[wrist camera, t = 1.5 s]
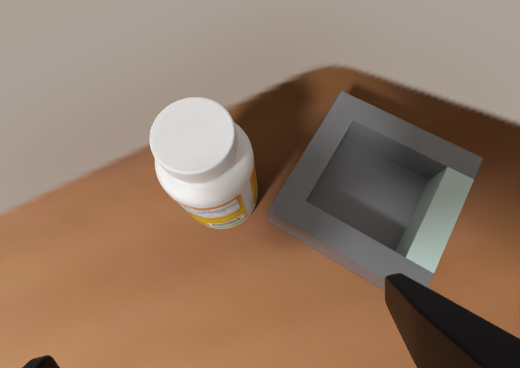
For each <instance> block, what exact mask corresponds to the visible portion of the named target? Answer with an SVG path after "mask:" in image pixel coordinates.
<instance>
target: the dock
mask: <svg viewBox="0 0 520 368" xmlns="http://www.w3.org/2000/svg"><path fill="white" fill-rule="evenodd" d="M482 160H483V158H482V157H480V156H478V155H476V154H474V153H472V152H470V151H467V150H465V149H463V148H461V147H459V146H457V145H455V144H453V143H451V142H448V141H446V140H444V139H442V138H440V137H438V136H436V135H434V134H432V133H430V132H427V131H425V130H423V129H421V128H419V127H417V126H415V125H413V124H411V123H408V122H406V121H404V120H402V119H400V118H398V117H396V116H394V115H392V114H390V113H387V112H385V111H383V110H381V109H379V108H377V107H375V106H373V105H371V104H368V103H366V102H364V101H362V100H360V99H358V98H356V97H354V96H352V95H349V94H347V93H345V92H343V91H341V93H340V95H339V96H338V98H337V100H336V101H335V103H334V104H333V106H332V108H331V109H330V111H329V112H328V114H327V116H326V117H325V119H324V120H323V122H322V124H321V125H320V127H319V129H318V130H317V132H316V133H315V135H314V137H313V138H312V140H311V141H310V143H309V145H308V146H307V148H306V149H305V151H304V153H303V154H302V156H301V158H300V159H299V161H298V162H297V164H296V166H295V167H294V169H293V170H292V172H291V174H290V175H289V177H288V178H287V180H286V182H285V183H284V185H283V187H282V188H281V190H280V191H279V193H278V195H277V196H276V198H275V199H274V201H273V203H272V204H271V206H270V207H269V209H268V222H270V223H271V224H273V225H275V226H276V227H278V228H280V229H281V230H283V231H285V232H286V233H288V234H290V235H291V236H293V237H295V238H297V239H298V240H300V241H302V242H303V243H305V244H307V245H308V246H310V247H312V248H313V249H315V250H317V251H318V252H320V253H322V254H323V255H325V256H327V257H328V258H330V259H332V260H333V261H335V262H337V263H338V264H340V265H342V266H343V267H345V268H347V269H349V270H350V271H352V272H354V273H355V274H357V275H359V276H360V277H362V278H364V279H365V280H367V281H369V282H370V283H372V284H374V285H375V286H377V287H379V288H380V289H382V290H384V291H385V277H386V276H388V275H392V274H396V273H402V274H404V275H406V276H408V277H409V278H411V279H413V280H415V281H417V282H418V283H420V284H422V285H424V286H426V287H427V288H428V286H429V284H430V281H431V279H432V277H433V274H434V272H435V270H436V267H437V265H438V263H439V260H440V258H441V256H442V253H443V251H444V249H445V246H446V244H447V242H448V239H449V237H450V235H451V232H452V230H453V228H454V225H455V223H456V221H457V219H458V216H459V214H460V212H461V209H462V207H463V205H464V202H465V200H466V198H467V195H468V193H469V191H470V188H471V186H472V184H473V181H474V179H475V177H476V174H477V172H478V170H479V167H480V165H481V163H482Z"/></svg>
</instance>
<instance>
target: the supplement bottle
mask: <svg viewBox="0 0 520 368" xmlns="http://www.w3.org/2000/svg"><path fill="white" fill-rule="evenodd" d="M150 147H151V151H152V153H153V155H154V157H155V170H156V174H157V177H158V180H159V182H160V184H161V185H162V187H163V188H164V189H165V191H166V192H167V193H168V194H169V195H170V196H171V197H172V198H173V199H174V200H175V201H177V202H178V203H179V204H180V205H181V206H182V207H183V208H184V209H185V210H186V211H187V212H188V213H190V214H191V215H192V216H193V217H194V218H195V219H196V220H197V221H199V222H200V223H201V224H203V225H205V226H207V227H210V228H215V229H226V228H231V227H234V226H236V225H238V224H240V223H242V222H243V221H244V220H246V219H247V218H248V217H249V216H250V214H251V213H252V212H253V210H254V208H255V206H256V203H257V199H258V184H257V177H256V169H255V161H254V154H253V150H252V146H251V143H250V141H249V138H248V136H247V135H246V133H245V132H244V131H243V130H242V129H241V127H239V126H238V125H237V124H236V123H234V122H233V119H232V117H231V116H230V114H229V113H228V111H227V110H226V109H225V108H224V107H223V106H222V105H220V104H219V103H217V102H215V101H213V100H210V99H207V98H202V97H190V98H185V99H181V100H178V101H176V102H174V103H172V104H170V105H169V106H167V107H166V108H165V109H164V110H163V111H162V112H160V114H159V115H158V116H157V118H156V119H155V121H154V123H153V125H152V128H151V131H150Z"/></svg>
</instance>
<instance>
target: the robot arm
mask: <svg viewBox="0 0 520 368" xmlns="http://www.w3.org/2000/svg"><path fill="white" fill-rule="evenodd" d="M385 301H386V304H387V307H388V309H389V311H390V313H391V315H392V317H393V320H394V322H395V324H396V326H397V328H398V330H399V332H400V334H401V336H402V338H403V340H404V342H405V344H406V346H407V349H408V351H409V353H410V355H411V357H412V359H413V361H414V363H415V364H416V366H417V368H520V339H519V338H517V337H515V336H513V335H512V334H510V333H508V332H506V331H504V330H503V329H501V328H499V327H497V326H496V325H494V324H492V323H490V322H488V321H487V320H485V319H483V318H481V317H479V316H478V315H476V314H474V313H472V312H470V311H469V310H467V309H465V308H463V307H461V306H460V305H458V304H456V303H454V302H452V301H451V300H449V299H447V298H445V297H443V296H442V295H440V294H438V293H436V292H435V291H433V290H431V289H429V288H427V287H426V286H424V285H422V284H420V283H418V282H417V281H415V280H413V279H411V278H409V277H408V276H406V275H404V274H402V273H396V274H392V275H388V276H386V277H385ZM22 368H60V367H59V366H58V364H57V363H56V362H55V360H54V359H53V358H52V357H51V356H49V355H46V356H42V357H38V358H34V359H32V360H30V361H29V362H28V363H27V364H26V365H25V366H24V367H22Z"/></svg>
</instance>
